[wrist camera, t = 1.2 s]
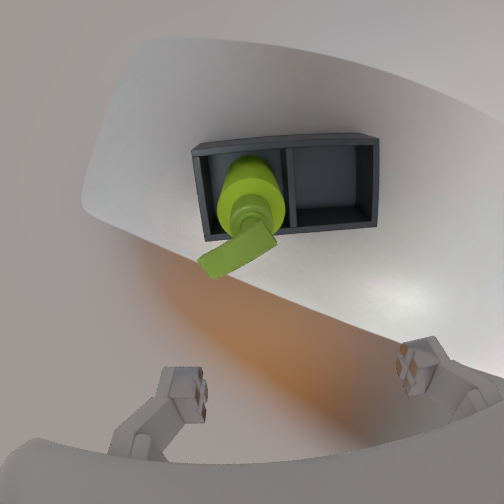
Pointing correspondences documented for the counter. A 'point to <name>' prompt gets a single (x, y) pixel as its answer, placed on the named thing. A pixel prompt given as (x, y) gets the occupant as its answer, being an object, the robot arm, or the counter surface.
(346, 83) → the counter surface
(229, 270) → the soap dispenser
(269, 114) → the counter surface
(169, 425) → the robot arm
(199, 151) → the storage box
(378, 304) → the counter surface
